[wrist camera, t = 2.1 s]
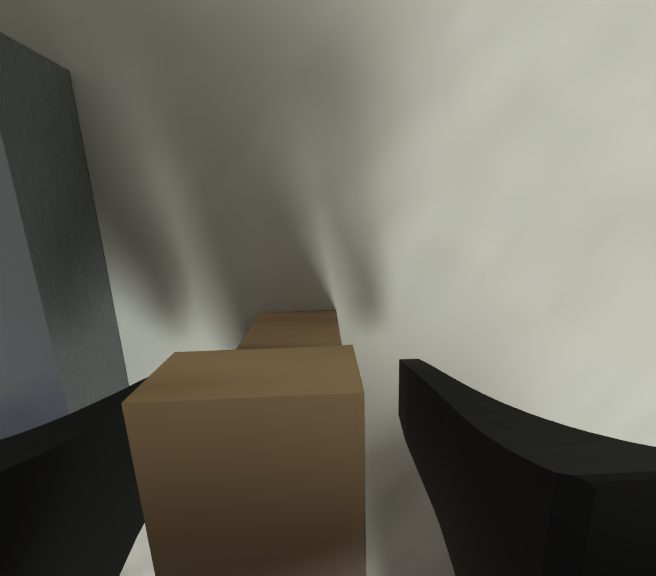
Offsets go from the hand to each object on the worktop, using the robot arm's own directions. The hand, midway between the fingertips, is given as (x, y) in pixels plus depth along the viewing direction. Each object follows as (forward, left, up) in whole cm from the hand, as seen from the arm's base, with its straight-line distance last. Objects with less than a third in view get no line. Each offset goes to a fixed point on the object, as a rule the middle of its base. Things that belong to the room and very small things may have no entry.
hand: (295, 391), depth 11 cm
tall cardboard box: (0, 0, -2) cm, 2 cm away
